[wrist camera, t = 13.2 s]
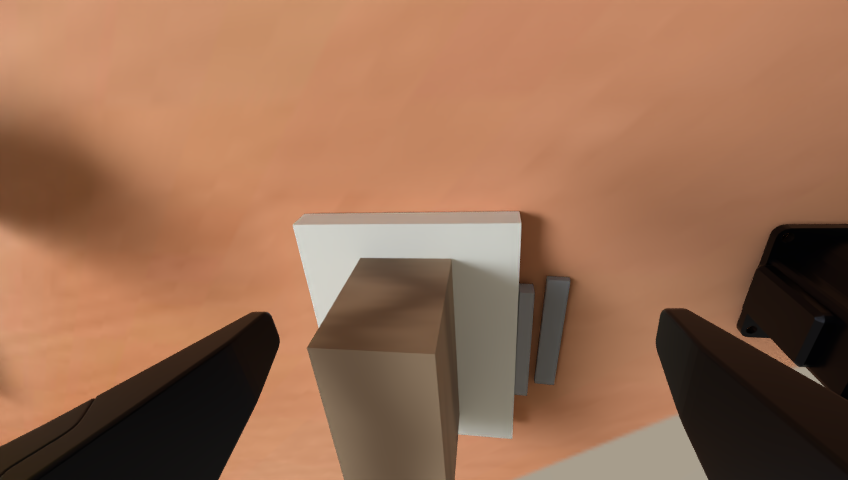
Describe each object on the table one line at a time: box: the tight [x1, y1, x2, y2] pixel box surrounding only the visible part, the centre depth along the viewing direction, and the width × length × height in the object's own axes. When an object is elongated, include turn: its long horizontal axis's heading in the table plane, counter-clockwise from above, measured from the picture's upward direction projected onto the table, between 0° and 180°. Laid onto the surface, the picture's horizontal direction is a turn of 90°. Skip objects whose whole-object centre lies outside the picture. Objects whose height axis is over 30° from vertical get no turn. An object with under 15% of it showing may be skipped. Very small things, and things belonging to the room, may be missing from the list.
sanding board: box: [293, 211, 521, 439], centre depth 24 cm, size 12×16×2 cm
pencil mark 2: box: [534, 276, 570, 385], centre depth 23 cm, size 1×8×1 cm, turn 2°
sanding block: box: [307, 258, 460, 480], centre depth 20 cm, size 5×12×7 cm, turn 4°
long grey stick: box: [514, 284, 535, 396], centre depth 23 cm, size 1×8×1 cm
